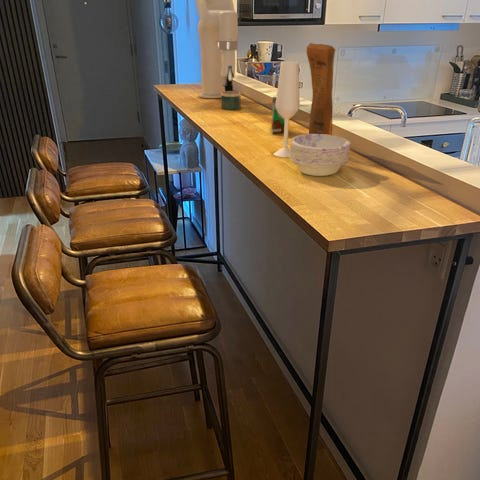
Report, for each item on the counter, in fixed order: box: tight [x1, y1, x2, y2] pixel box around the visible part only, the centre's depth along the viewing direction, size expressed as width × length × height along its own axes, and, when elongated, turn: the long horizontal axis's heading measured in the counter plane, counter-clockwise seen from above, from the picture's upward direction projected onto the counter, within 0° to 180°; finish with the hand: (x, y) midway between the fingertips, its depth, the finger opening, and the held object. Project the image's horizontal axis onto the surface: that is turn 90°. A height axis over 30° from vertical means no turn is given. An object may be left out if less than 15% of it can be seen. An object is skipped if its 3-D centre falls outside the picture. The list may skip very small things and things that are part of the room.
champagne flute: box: [273, 60, 301, 158], centre depth 140 cm, size 7×7×24 cm
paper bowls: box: [289, 133, 351, 177], centre depth 129 cm, size 15×15×8 cm
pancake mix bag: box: [306, 42, 336, 135], centre depth 144 cm, size 7×19×28 cm, turn 7°
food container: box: [271, 96, 285, 135], centre depth 169 cm, size 12×6×10 cm, turn 179°
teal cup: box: [220, 90, 242, 111], centre depth 206 cm, size 8×8×6 cm
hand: (228, 95), depth 212 cm, fingers closed
